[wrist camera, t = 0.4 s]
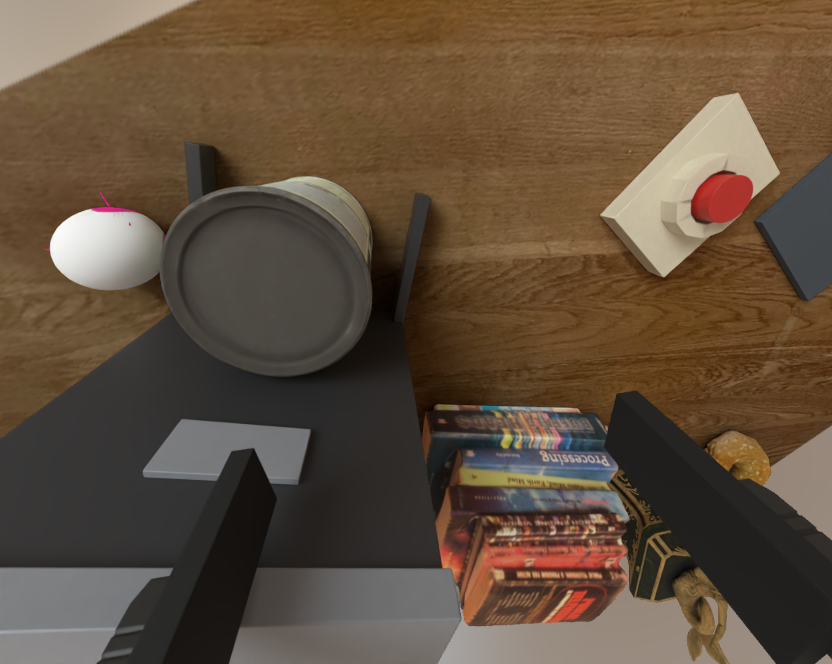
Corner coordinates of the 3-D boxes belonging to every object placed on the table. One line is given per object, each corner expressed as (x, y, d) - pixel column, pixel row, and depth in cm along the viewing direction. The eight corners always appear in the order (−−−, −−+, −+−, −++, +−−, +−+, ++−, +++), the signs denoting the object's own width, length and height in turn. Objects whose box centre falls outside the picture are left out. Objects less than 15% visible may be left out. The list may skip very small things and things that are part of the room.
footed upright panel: (197, 142, 25) (-1428, -29, 2) (429, 195, 29) (626, 323, 6) (210, 335, 32) (-170, 736, 10) (393, 359, 36) (422, 692, 13)
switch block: (713, 97, 27) (763, 87, 24) (754, 172, 31) (804, 174, 27) (599, 215, 31) (627, 222, 27) (647, 271, 34) (678, 283, 31)
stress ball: (183, 202, 30) (114, 154, 23) (202, 284, 29) (136, 259, 22) (102, 227, 30) (10, 186, 23) (119, 310, 29) (28, 292, 22)
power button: (721, 164, 26) (742, 164, 25) (739, 194, 28) (760, 196, 26) (682, 201, 28) (700, 203, 26) (701, 228, 29) (720, 232, 27)
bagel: (757, 419, 47) (795, 445, 43) (739, 469, 52) (771, 496, 48) (690, 436, 47) (721, 463, 43) (679, 484, 53) (705, 512, 48)
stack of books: (596, 404, 42) (718, 539, 27) (554, 495, 51) (630, 638, 35) (424, 400, 39) (454, 551, 24) (407, 498, 47) (422, 657, 32)
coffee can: (385, 279, 32) (391, 356, 19) (281, 302, 32) (220, 394, 19) (356, 162, 27) (338, 163, 14) (233, 189, 27) (109, 214, 14)
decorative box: (596, 466, 48) (720, 638, 31) (660, 451, 48) (819, 614, 31) (590, 541, 58) (682, 705, 40) (643, 529, 58) (758, 687, 40)
